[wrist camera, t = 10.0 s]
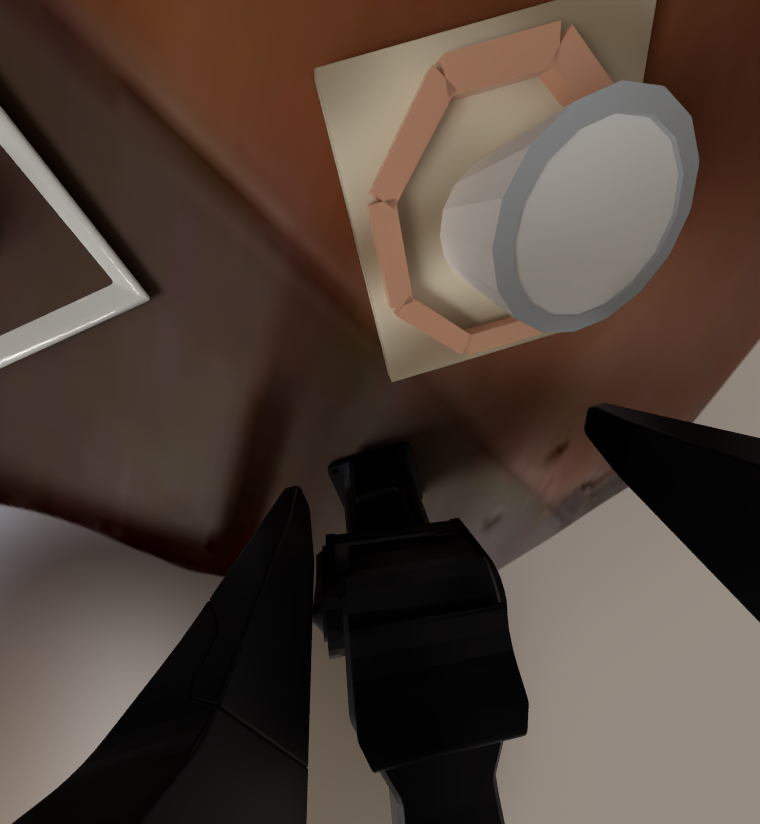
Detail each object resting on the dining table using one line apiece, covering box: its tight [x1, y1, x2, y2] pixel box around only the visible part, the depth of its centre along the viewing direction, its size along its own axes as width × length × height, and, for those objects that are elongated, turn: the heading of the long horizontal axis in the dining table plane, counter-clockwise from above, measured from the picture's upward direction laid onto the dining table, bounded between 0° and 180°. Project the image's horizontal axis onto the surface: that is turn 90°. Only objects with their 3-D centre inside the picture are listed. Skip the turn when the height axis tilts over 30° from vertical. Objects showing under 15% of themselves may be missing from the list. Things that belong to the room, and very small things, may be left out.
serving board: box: [315, 0, 656, 382], centre depth 16 cm, size 14×14×1 cm
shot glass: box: [440, 80, 700, 332], centre depth 13 cm, size 7×7×7 cm
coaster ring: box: [366, 20, 614, 355], centre depth 15 cm, size 12×12×1 cm
